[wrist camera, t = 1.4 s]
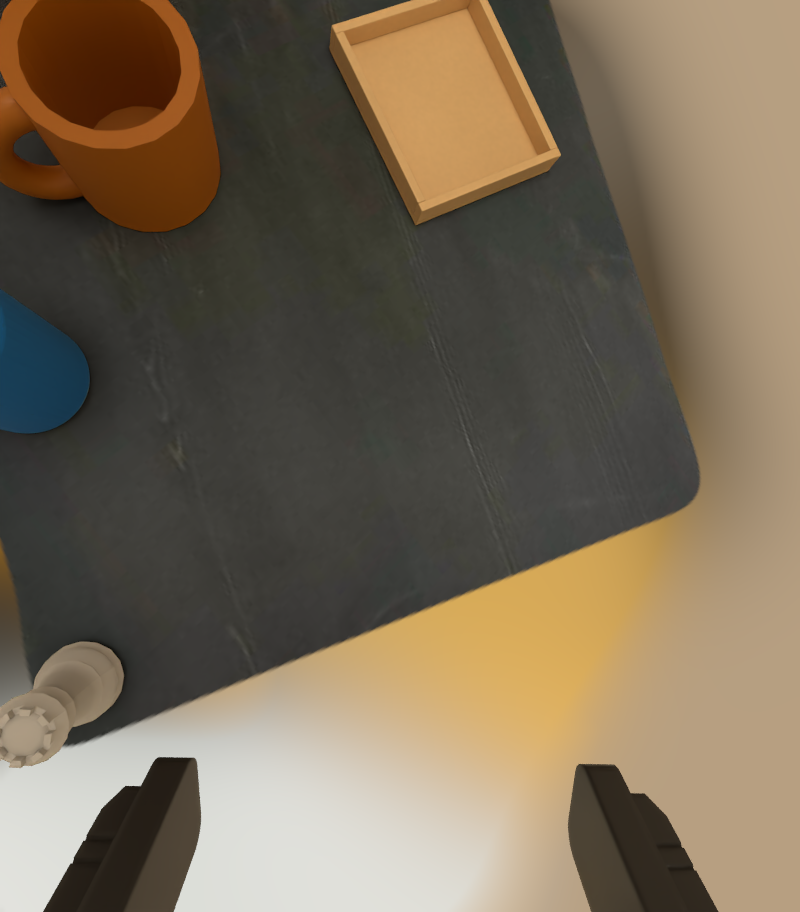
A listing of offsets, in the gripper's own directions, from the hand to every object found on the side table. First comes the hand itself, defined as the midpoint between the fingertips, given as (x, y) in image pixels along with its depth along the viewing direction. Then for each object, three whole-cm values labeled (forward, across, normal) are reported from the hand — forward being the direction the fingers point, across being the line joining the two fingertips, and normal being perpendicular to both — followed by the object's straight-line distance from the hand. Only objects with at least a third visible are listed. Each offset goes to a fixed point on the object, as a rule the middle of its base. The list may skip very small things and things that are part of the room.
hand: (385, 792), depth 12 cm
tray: (+34, -3, -23) cm, 42 cm away
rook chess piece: (+19, +17, +12) cm, 28 cm away
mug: (+29, +17, -17) cm, 38 cm away
